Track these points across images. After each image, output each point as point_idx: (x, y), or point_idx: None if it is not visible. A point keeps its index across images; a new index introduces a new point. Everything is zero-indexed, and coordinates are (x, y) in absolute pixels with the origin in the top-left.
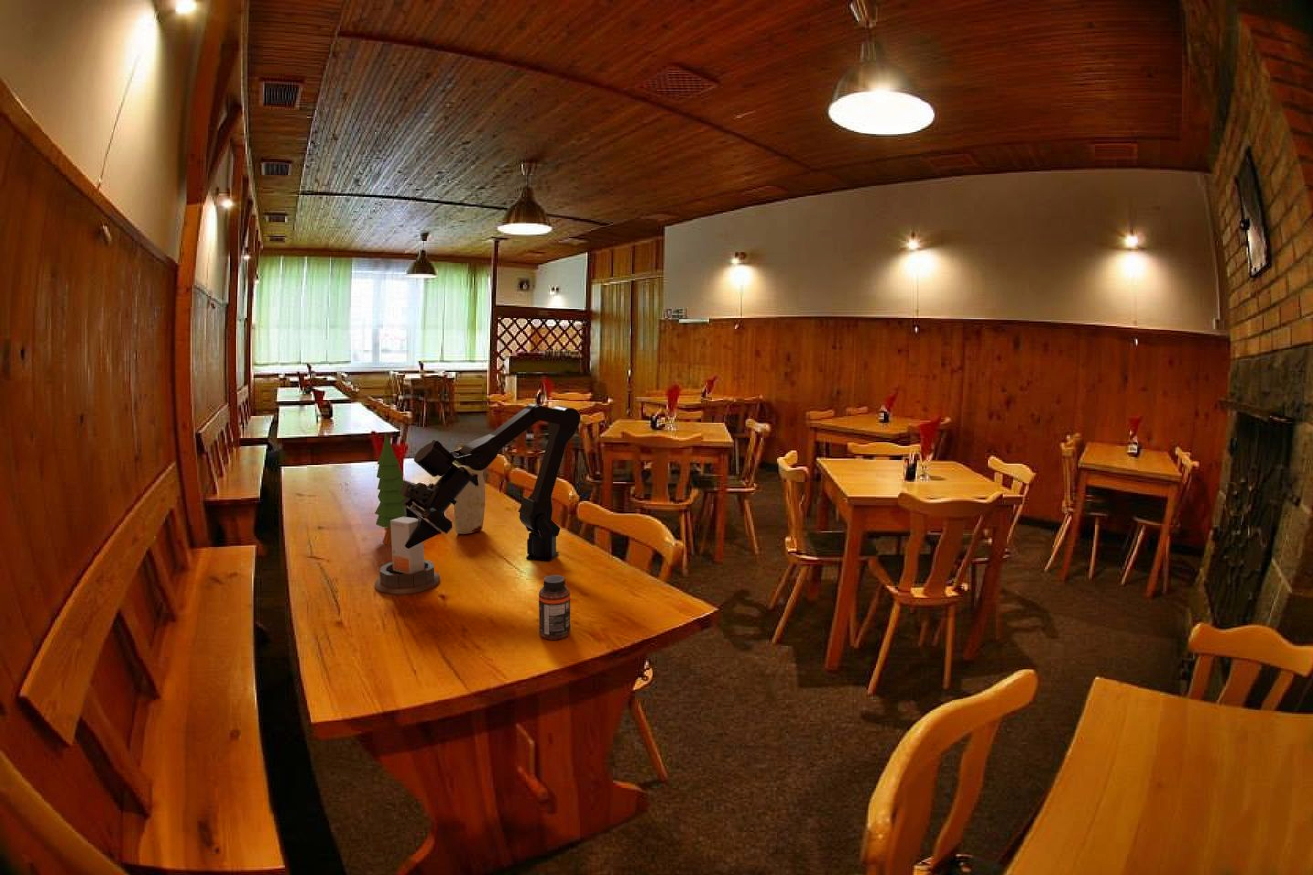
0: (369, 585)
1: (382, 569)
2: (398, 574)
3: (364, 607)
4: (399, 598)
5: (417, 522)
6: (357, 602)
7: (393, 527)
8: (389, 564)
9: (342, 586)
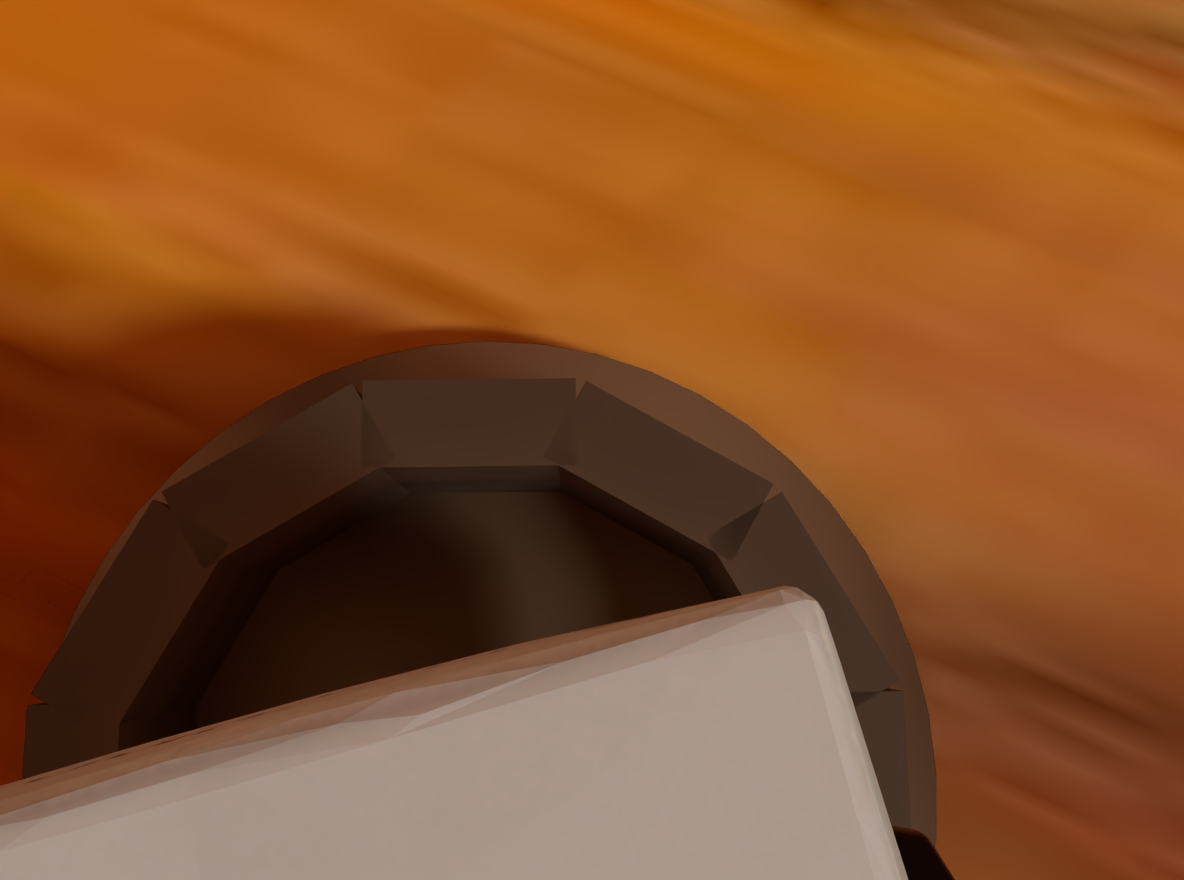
0: (756, 359)
1: (644, 449)
2: (232, 530)
3: (110, 28)
4: (64, 438)
5: None
6: (312, 33)
7: (546, 638)
8: None
9: (940, 110)
